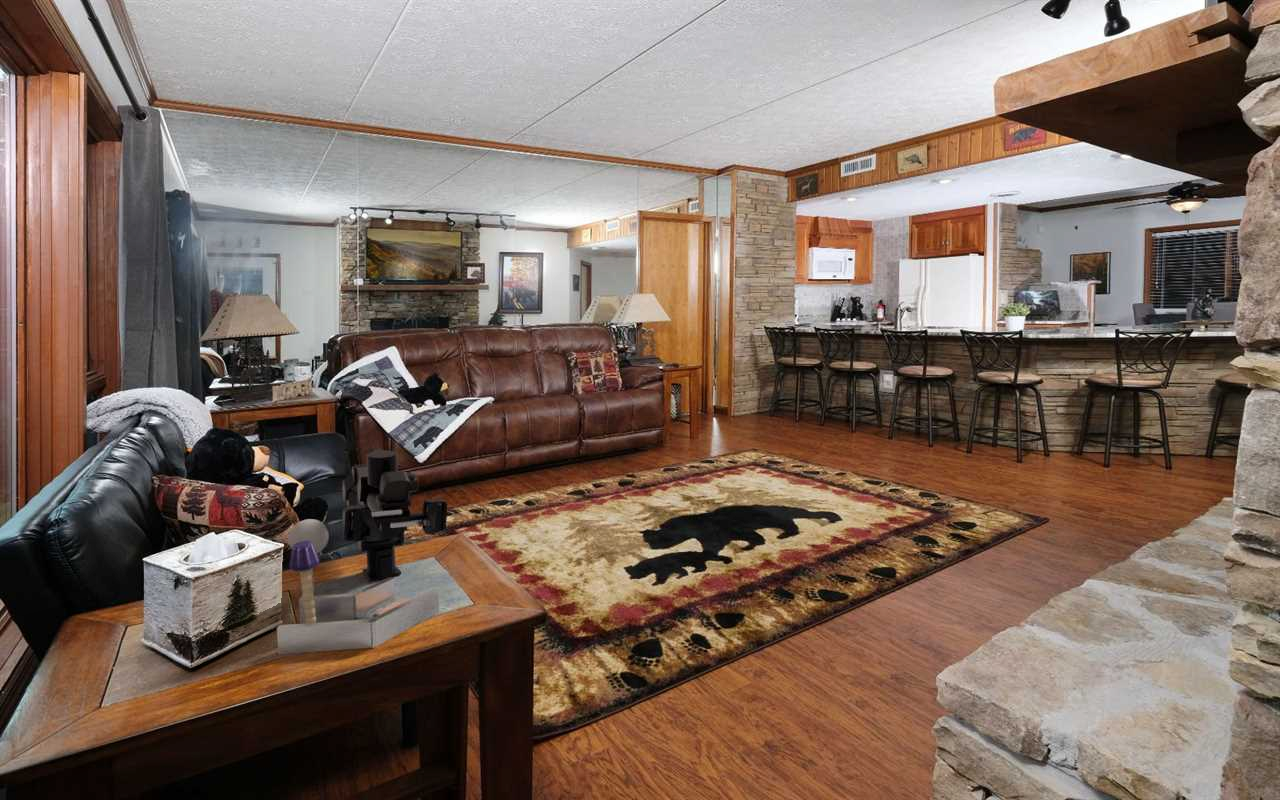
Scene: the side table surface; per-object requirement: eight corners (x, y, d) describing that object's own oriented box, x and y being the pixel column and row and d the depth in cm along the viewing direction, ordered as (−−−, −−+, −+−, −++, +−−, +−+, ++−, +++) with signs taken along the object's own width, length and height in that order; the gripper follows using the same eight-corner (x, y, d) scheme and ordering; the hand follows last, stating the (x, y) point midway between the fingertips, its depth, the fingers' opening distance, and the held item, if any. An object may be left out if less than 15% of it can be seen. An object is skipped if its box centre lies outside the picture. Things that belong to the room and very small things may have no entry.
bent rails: (268, 628, 121) (266, 604, 120) (419, 592, 137) (418, 570, 136) (285, 672, 107) (283, 645, 106) (452, 626, 122) (451, 602, 122)
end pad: (403, 600, 133) (403, 598, 133) (430, 608, 130) (430, 606, 129) (374, 614, 127) (374, 612, 126) (402, 623, 123) (401, 621, 123)
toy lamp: (304, 644, 115) (298, 549, 113) (288, 637, 118) (282, 544, 116) (330, 633, 120) (324, 541, 117) (314, 626, 122) (308, 536, 120)
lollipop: (338, 592, 136) (333, 519, 134) (300, 603, 131) (295, 528, 129) (323, 582, 141) (318, 512, 139) (286, 592, 136) (281, 520, 134)
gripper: (338, 470, 129) (354, 496, 116) (436, 464, 139) (462, 488, 126) (335, 526, 131) (352, 557, 118) (433, 516, 141) (457, 545, 128)
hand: (408, 534), depth 123 cm, fingers open, 9 cm apart
